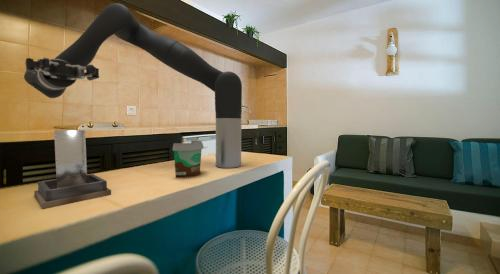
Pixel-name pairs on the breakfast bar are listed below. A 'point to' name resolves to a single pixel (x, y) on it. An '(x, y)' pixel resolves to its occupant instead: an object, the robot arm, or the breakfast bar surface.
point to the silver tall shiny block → (70, 157)
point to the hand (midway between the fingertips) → (71, 65)
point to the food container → (187, 158)
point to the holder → (70, 191)
